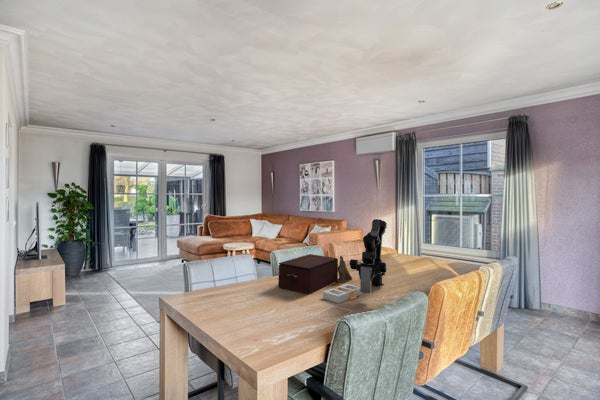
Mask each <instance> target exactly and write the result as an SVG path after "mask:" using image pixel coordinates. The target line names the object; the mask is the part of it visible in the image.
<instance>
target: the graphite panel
mask: <svg viewBox="0 0 600 400" xmlns="http://www.w3.org/2000/svg"><path fill="white" fill-rule="evenodd" d="M371 274H372V267H369V266H361V280H360V279H359V280H360V281H359V284H360V286H359V287H360V292H362V293H363V294H371V293H372V284H371V281H370V278H371Z"/></svg>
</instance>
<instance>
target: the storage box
mask: <svg viewBox="0 0 600 400" xmlns="http://www.w3.org/2000/svg"><path fill="white" fill-rule="evenodd" d="M338 266H339V258H338V257H330V256H327V255H318V254H311V253H310V254H309V253H308V254H305V255H302V256H299V257H294V258H291V259H288V260H285V261H281V262H279V263H278V282H277V283H278V285H277V286H278V289H280V290H286V291H289V292H295V293H299V294H305V295H311V294H313V293H315V292H317V291H318V292H319V290H322V289H324V288H325V287H328V286H330V285H332V284H334V283H337V282H336V280H337V279H339V273H338Z"/></svg>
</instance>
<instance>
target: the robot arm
mask: <svg viewBox="0 0 600 400" xmlns="http://www.w3.org/2000/svg"><path fill="white" fill-rule="evenodd" d="M387 226H388V224H387V222H386V221H385V220H382V219H381V218H380V219H379V218H374V219H372V221H371V228H370V229H371V230H370V231H369V232H367V234H366V235H364V236H363V237H362V242H363V245H364V248H365V250H364V251H362V253H361V261H359V260H358V259H352V258H351V259H350V260H349V267H350V269H351V270H356V271H357V272H358V275H359V280H361V266H369V267H372V274H371V278H370V281H371V286H375V287H379V286H384V285H385V283H383V276H385V275H386V273H387V270H388V268H387V263H386V262H383V260H382V245H383V243H382V242H383V235H385V233H386V229H387Z"/></svg>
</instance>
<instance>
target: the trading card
mask: <svg viewBox="0 0 600 400" xmlns="http://www.w3.org/2000/svg"><path fill="white" fill-rule="evenodd" d="M333 307H336V308H338V309H342V310H347V311H349V312H350V313H352V312H353V310H351V309H347V308H343V307H339V306H336V305H335V306H334V305H332V306H330V307H328V308H327V309H324V310H322V311H320V312H318V313H317V314H316V315H314V316H313V318H314V319H317V318H318V320H321V321H324V320H325V321H324V322H328V323H331V322H332V323H331V324H334V323H336V322H338V321H339V320H340V318H338V319H337V320H335V321H331V320H326V319H322V318H319V317H317V316H318V315H321V314H322V313H324V312H325V311H328V310H330V309H331V308H333ZM345 315H346V314H345ZM345 315H343V316H344V317H345Z"/></svg>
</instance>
